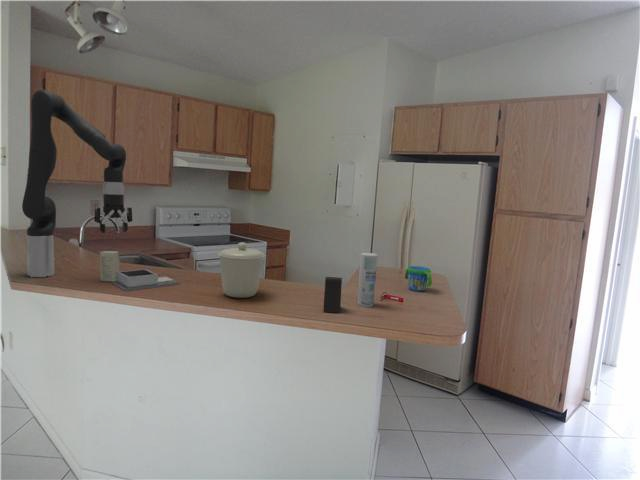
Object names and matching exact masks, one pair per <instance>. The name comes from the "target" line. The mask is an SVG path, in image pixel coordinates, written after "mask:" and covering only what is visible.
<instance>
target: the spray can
mask: <svg viewBox="0 0 640 480" xmlns="http://www.w3.org/2000/svg"><path fill="white" fill-rule="evenodd" d="M378 256H379V255H378V254H377V253H373V252H361V253H360V259H359V260H360V261H359V263H360V264H359V272H358V273H359V274H358V289H357V305H358V306H361V307H364V308H365V307H366V308H368V307H369V308H370V307H373V306H374V302H375V301H374V300H375V290H376V279H377V270H378V269H377V266H378Z"/></svg>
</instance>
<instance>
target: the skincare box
mask: <svg viewBox="0 0 640 480" xmlns="http://www.w3.org/2000/svg"><path fill="white" fill-rule="evenodd" d="M99 262H100V263H99V265H100V268H99V269H100V270H99V271H100V281H101V282H112V283H113V281H116V272H120V271H121V270H120V268H121V267H120V251H116V250H115V251H111V250H103V251H99Z"/></svg>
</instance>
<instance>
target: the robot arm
mask: <svg viewBox="0 0 640 480" xmlns="http://www.w3.org/2000/svg"><path fill="white" fill-rule="evenodd" d="M30 107H31V109H30V111H31V112H30V113H31V128H30V129H31V132H30V145H29V152H28V153H29V154H28V166H27V167H28V168H27V177H26V185H25V191H24V194H23V198H22V204H21V209H22V212H23V215H24V216H25V217H27V218H28V219H30V220H32V222H31V223H30V225H29V226H28V227H27V228H26V229H27V230H26V234H27V235H26V236H27V238H26V241H27V242H26V244H27V245H26V246H27V252H26V276H28V277H29V276H30V277H29V278H48V277H52V276H54V275H55V253H54V252H55V248H54V247H55V244H54V231H55V229H56V225H57V224H56V222H57V221H56V220H57V207H56V204H55V201H54V200H53V199H52V198H51V197H48V196H46V190H47V189H46V188H47V185H48V182H49V181H50V179H51V177H52V175H53V173H54V170H55V168H56V165H57V153H58V151H57V145H56V142H55V140H54V137H53V133H52V130H51V129H52V128H51V124H52V118H53V117H54V118H56V119H58V120H60V121H61V122H62V123H64V124H66V125H67V126H69V128H70V129H71V130H72V131H73V132H74V134H75V135H76V136H77V137H78V138H80V139H81V140H82V141H83V142H85V143H86V144H87V145H88V146H89V147H91V148H92V149H93V150H94V151H95V152H96V153H97V154H98V155H99V156H100V157H101V158H102V159H104V160H106V161H108V166H107V167H104V169H103V189H102V192H103V193H102V195H103V196H102V197H103V200H102V201H103V207H95V208H94V218H93V219H94V222H95V223H98V224H99V232H100V233H101V234H106V224H105V223H106V222H107V221H108V220H109V219H119V220H121V222H122V232H123V233H127V231H128V230H129V229H128V227H129V226H128V225H129V223H131V222H133V211H132V209H133V208H132V207H131V206H130V207H128V206H127V207H124V205H125V197H124V196H125V188H124V169H125V165H126V162H127V161H126V160H127V152H126V149H125V147H124V146H122V145H121V144H118V143H113V142H111V141H110V140H108V139H107V137H106V135H105V134H104V133H103V132H101V131H100V129H98V128H96V127H95V126H94V125H92V124H91V123H89V121H87V120H86V119H85V118H83V117H82V116H81V115H80V114H79V113H78V112H76V110H74V109H73V108H72V107H71V106H70V104H69V103H67V101H66V100H65V99H64V98H62V96H61V95H59V94H56V93H54V92H51V91H48V90H45V89H39V90H36V91H35V92H34V93H33V95H32V97H31V103H30ZM102 212H103V213H104V214H103V215H102V216H101V213H102ZM124 212H125V213H126V216H125V215H124ZM47 276H48V277H47Z"/></svg>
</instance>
